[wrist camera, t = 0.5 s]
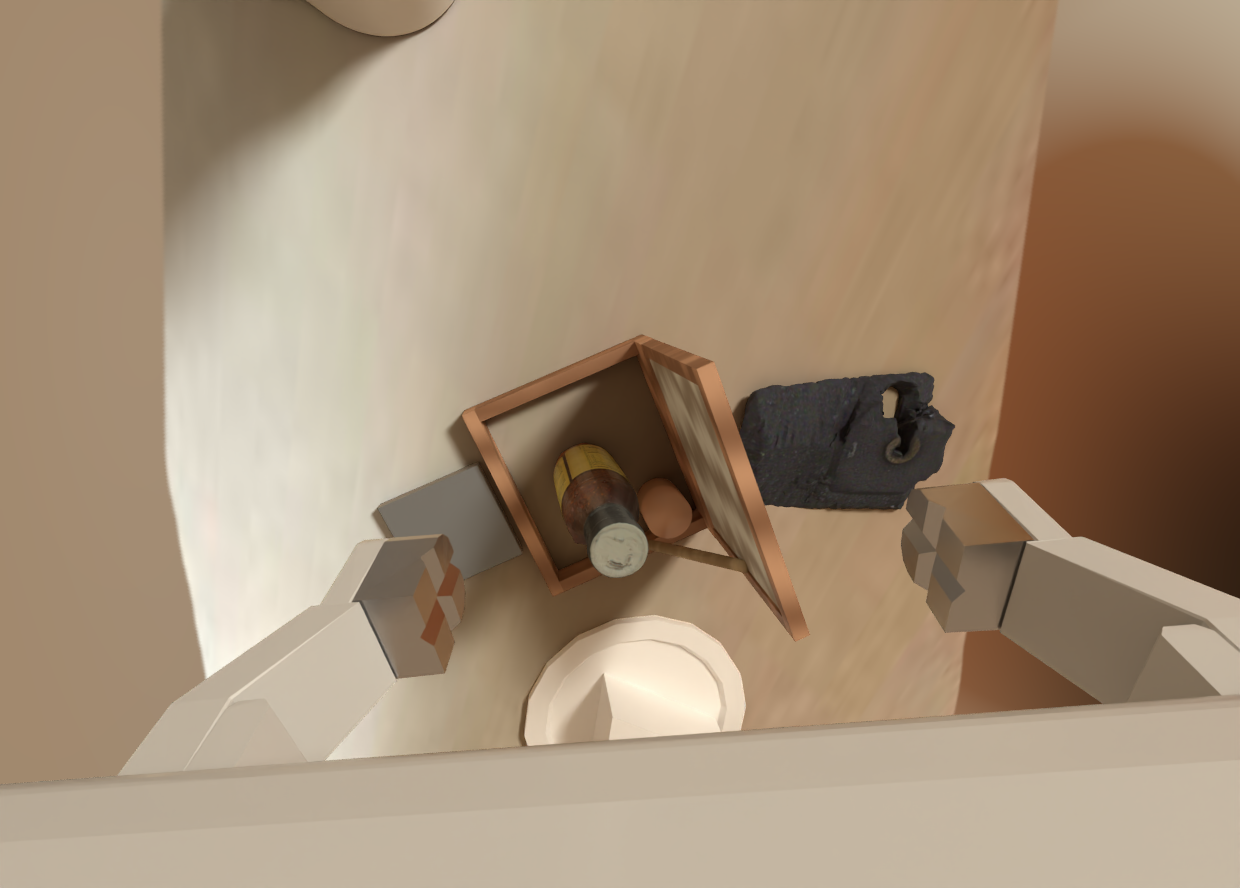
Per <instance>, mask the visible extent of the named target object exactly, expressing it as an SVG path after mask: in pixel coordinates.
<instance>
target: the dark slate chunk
mask: <svg viewBox="0 0 1240 888" xmlns="http://www.w3.org/2000/svg"><path fill="white" fill-rule="evenodd" d="M933 383H934V378H933V377H932V376H931V375H929V374H927V373H921V374H920V373H916V372H910V373H907V374H887V375H873V376H871V377H869V376H861V377H859V378H854V377H853V378H851V379H849V378H846V377H845V378H843V379H827V380H823V381H818V382H817V383H813V382H809V383H803V384H795V385H791V386H781V385H772V386H769V387H766V388H762V389H759V390H756V391H754V392H753V393H752V394H751V395H750V397H749V399H748V402H747V404H746V408H745V415H744V420H743V424H742V428H741V430H740V432H739V434H740V437H741V440H742V443H743V446H744V449H745V451H746V454H747V457H748V460H749V463H750V466H751V468H752V471H753V474H754V477H755V480H756V483H757V486H758V488H759V491H760V494H761V497H762V500H763V503H764V505H774V506H778V507H779V506H783V507H798V508H811V509H812V508H817V509H820V508H828V507H829V508H831V509H838V508H841V509H846V508H855V509H862V508H869V509H901V508H902V506H903V505H904V501H905V500H906V499H907V497H908V496H909V494H910V492H911V490H912V489H914V487H915V485H916V483H917V482H919V481H924V480H926V479H927V478H929V477H930V476H931V475H932V474H933V473H937V472H938V471H939V469H940V467H941V465H942V462H943V456H944V450H945V445H946V443H947V441H948V439H949V438H950V436H951V434H952V430H953V429H954V428H955V425H954V424H952V423H951V422H949V421H947V420H946V419H945V418H944V417H943V416H941V415H940V414H939V411H938V410H936V409H935V408H934V407H933V406H932V405H931V406H930V407H928V405H927V404H928V403H929V402H930V401H931V400H932V398H933V395H932V391H933V388H934V385H933ZM890 386H892V387H894V388H896V389H897V390H898V393H899V400H898V409H897V411H896V413H895V415H894V418H884V417H883V416H882V415H884V412H883V402H882V401H883V396H882V395H881V394H883V393H884V392H885V391H886V390H887V389H888V388H889V387H890ZM926 407H927V408H926ZM882 413H883V414H882Z"/></svg>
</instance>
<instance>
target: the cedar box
mask: <svg viewBox="0 0 1240 888" xmlns="http://www.w3.org/2000/svg"><path fill="white" fill-rule="evenodd" d="M633 356H637V358H638V361H639V363H640V366H641V368H642V371H643V373H644V376H645V378H646V381H647V384H648V386H649V389H650V391H651V394H652V396H653V399H654V401H655V404H656V407H657V409H658V412H659V414H660V417H661V419H662V422H663V424H664V427H665V430H666V432H667V435H668V437H669V440H670V442H671V445H672V447H673V450H674V452H675V455H676V458H677V460H678V463H679V465H680V468H681V470H682V473H683V475H684V478H685V481H686V483H687V486H688V488H689V491H690V493H691V496H692V498H693V501H694V504H695V506H696V510H693V511H692V520H691V523H690V525H689V527H688V528H687V530H686V531H685V532H684V533H682V534H681V535H679V536H677V537H675V538H669V539H665V538H660V537H658V536H656V535H655V534H653V533H652V532H651V531H650V530H648V531H646V532H644V533H645V536H646V538H647V542H648V548H649V551H648V554H650V553H652V552H654V551H656V552H660V553H664V554H668V555H673V556H677V557H681V558H685V559H689V560H693V561H698V562H702V563H706V564H710V565H714V566H718V567H722V568H727V569H731V570H735V571H739V572H742V573H743V574H744V575H745V577H746V578H747V579H748V581H749V582H750V583H751V585H752V586H753V587H754V589H755V590H756V591H757V592H758V594H759V595H760V596H761V598H762V599H763V600H764V602H765V603H766V604H767V605H768V607H769V608H770V609H771V611H772V612H773V613H774V615H775V616H776V617H777V619H778V620H779V621H780V622H781V624H782V625H783V626H784V628H785V629H786V630H787V632H788V633H789V634H790V635H791V637H792V638H793V639H794V641H795V642H796V641H798V640H800V639H802V638H804V637H807V636H809V635H810V634H809V631H808V628H807V625H806V622H805V619H804V617H803V614H802V611H801V608H800V605H799V602H798V599H797V597H796V594H795V591H794V588H793V585H792V582H791V580H790V577H789V574H788V571H787V568H786V565H785V562H784V560H783V557H782V554H781V551H780V548H779V545H778V543H777V540H776V537H775V534H774V531H773V528H772V525H771V523H770V520H769V517H768V514H767V511H766V508H765V505H764V503H763V500H762V497H761V494H760V491H759V488H758V486H757V483H756V480H755V477H754V474H753V471H752V468H751V466H750V463H749V460H748V457H747V454H746V451H745V449H744V446H743V443H742V440H741V437H740V434H739V431H738V429H737V426H736V423H735V420H734V417H733V414H732V411H731V409H730V406H729V403H728V400H727V397H726V394H725V392H724V389H723V386H722V383H721V380H720V377H719V374H718V372H717V369H716V366H715V363H714V362H713V361H710V360H707V359H705V358H702V357H700V356H697V355H694V354H692V353H689V352H686V351H684V350H681V349H678V348H676V347H673V346H670V345H668V344H665V343H662V342H660V341H657V340H654V339H653V338H650V337H648V336H645V335H639V336H637V337H635V338H632V339H630V340H628V341H625V342H623V343H621V344H618V345H616V346H614V347H611V348H609V349H607V350H604V351H602V352H600V353H597V354H595V355H593V356H590V357H588V358H586V359H583V360H581V361H579V362H576V363H574V364H572V365H569V366H567V367H565V368H562V369H560V370H558V371H555V372H553V373H551V374H548V375H546V376H544V377H541V378H539V379H537V380H534V381H532V382H530V383H527V384H525V385H523V386H520V387H518V388H516V389H513V390H511V391H509V392H506V393H504V394H502V395H499V396H497V397H494V398H492V399H490V400H487V401H485V402H483V403H480V404H478V405H476V406H473V407H471V408H469V409H466V410H464V412H463V414H462V417H463V419H464V421H465V423H466V425H467V427H468V429H469V431H470V433H471V435H472V437H473V439H474V441H475V443H476V445H477V447H478V449H479V451H480V453H481V455H482V457H483V459H484V461H485V463H486V465H487V467H488V469H489V471H490V473H491V475H492V477H493V479H494V481H495V483H496V485H497V487H498V489H499V491H500V492H501V494H502V496H503V498H504V500H505V502H506V504H507V506H508V508H509V510H510V512H511V514H512V516H513V518H514V520H515V522H516V524H517V526H518V528H519V530H520V532H521V534H522V536H523V538H524V540H525V542H526V544H527V546H528V548H529V550H530V552H531V554H532V556H533V558H534V560H535V562H536V564H537V566H538V568H539V570H540V572H541V574H542V576H543V578H544V580H545V582H546V584H547V586H548V588H549V590H550V592H551V594H552V596H556V595H558V594H560V593H562V592H565V591H567V590H569V589H571V588H574V587H576V586H578V585H580V584H583V583H585V582H587V581H589V580H592V579H594V578H596V577H598V576H601V575H603V574H601V573H599V572H598V571H597V570H596V569H595V568H594V566H593V565H592V563H591V561H590V559H589V557H588V558H585V559H583V560H581V561H579V562H576V563H574V564H572V565H570V566H567V567H565V568H563V569H561V570H557V568H556V566H555V564H554V562H553V560H552V558H551V555H550V553H549V551H548V549H547V547H546V545H545V543H544V541H543V539H542V537H541V535H540V533H539V531H538V529H537V527H536V525H535V523H534V521H533V519H532V517H531V515H530V513H529V511H528V509H527V507H526V505H525V503H524V501H523V499H522V497H521V495H520V492H519V490H518V488H517V486H516V484H515V482H514V480H513V478H512V476H511V474H510V472H509V470H508V468H507V466H506V464H505V462H504V460H503V458H502V456H501V454H500V452H499V450H498V448H497V446H496V444H495V442H494V440H493V438H492V436H491V434H490V432H489V429H488V427H487V425H486V423H485V421H484V420H487V419H489V418H491V417H494V416H496V415H498V414H501V413H503V412H505V411H508V410H510V409H512V408H515V407H517V406H519V405H522V404H524V403H526V402H529V401H531V400H533V399H536V398H538V397H540V396H543V395H545V394H547V393H550V392H552V391H554V390H557V389H559V388H561V387H564V386H566V385H568V384H570V383H573V382H575V381H577V380H580V379H582V378H584V377H587V376H589V375H591V374H594V373H596V372H598V371H601V370H603V369H605V368H608V367H610V366H612V365H615V364H617V363H619V362H622V361H624V360H626V359H629V358H631V357H633ZM706 528H708V529H709V531H710V532H711V533H712V535H713V536H714V537H715V538H716V539H717V540H718V542H719V543H720V544H721V545H722V547H723V548H724V549H725V551H726V552H727V553H728V555H729V556H730V557H729V556H724V555H720V554H715V553H711V552H706V551H701V550H697V549H692V548H688V547H683V546H678V545H674V544H672V543H674V542H677V541H679V540H681V539H683V538H686V537H688V536H690V535H692V534H695V533H697V532H699V531H701V530H704V529H706ZM648 554H647V555H648Z"/></svg>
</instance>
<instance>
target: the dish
mask: <svg viewBox="0 0 1240 888" xmlns="http://www.w3.org/2000/svg"><path fill="white" fill-rule="evenodd" d="M745 708H746V703H745V697H744V691H743V685H742V679H741V674H740V672H739V671H738V669H737V667H736V666H735V664H734V663H733V661H732V660H731V658H730V657H729V655H728V654H727V652H726V651H725V649H724V648H723V646H722V644H721V643H720V642H719V641H717V640H716V639H714V638H713V637H711V636H710V635H708V634H707V633H705V632H704V631H702V630H701V629H699V628H698V627H696V626H695V625H693V624H692V623H688V622H684V621H679V620H675V619H670V618H666V617H661V616H657V615H650V616H640V617H631V618H622V619H614V620H612V621H610V622H607V623H605V624H603V625H600V626H598V627H596V628H594V629H591V630H589V631H587V632H584V633H582V634H580V635H578V636H576V637H575V638H574V639H573V640H572V641H571V642H569V643H568V644H567V645H566V646H565V647H564V648H563V649H561V650H560V651H559V652H558V653H557V654H556V655H555V656H554V657H552V658H551V659H550V660H549V661H548V662H547V663H546V665H545V667H544V669H543V670H542V672H541V674H540V676H539V678H538V679H537V681H536V683H535V685H534V686H533V688H532V690H531V692H530V694H529V698H528V705H527V713H526V721H525V728H524V736H525V739H526V742H527V746H534V745H548V744H562V743H575V742H589V741H603V740H616V739H630V738H644V737H657V736H671V735H685V734H699V733H712V732H726V731H740V730H741V725H742V721H743V717H744V712H745Z"/></svg>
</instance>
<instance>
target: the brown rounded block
mask: <svg viewBox="0 0 1240 888" xmlns="http://www.w3.org/2000/svg"><path fill="white" fill-rule="evenodd" d="M637 498H638V502H639V510H640V512H641V514H642V516H643V518H644V520H645V522H646V523H647V525H648V527H649V529H650V531H651V532H652V533H653V534H655V535H656V536H658V537H660V538H665V539H669V538H675V537H677V536H679V535H681V534H682V533H684V532H685V531H686V530H687V528H688V527H689V525H690V523H691V520H692V509H691V507H690V505H689V503H688V502H687V500H686V499H685V498H684V497H683V495H682V494H681V493H680V491H679V490H678V489H677V487H676V486H675V485H674V484H673V483H672V482H671V481H669V480H667V479H663V478H655V479H652V480H649V481H647V482H646V483H645V484H644V485H643V486H642V487H641V488H640V490H639V492H638V494H637Z"/></svg>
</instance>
